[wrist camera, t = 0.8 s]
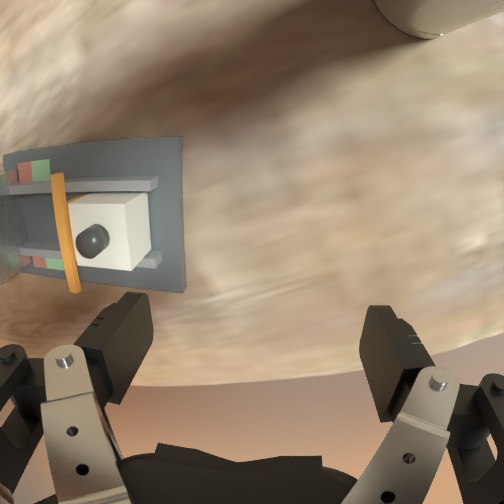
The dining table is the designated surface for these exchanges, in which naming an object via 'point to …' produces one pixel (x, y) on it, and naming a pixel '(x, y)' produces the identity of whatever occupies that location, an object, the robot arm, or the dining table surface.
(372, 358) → the robot arm
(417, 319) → the dining table surface
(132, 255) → the spring plunger
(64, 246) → the peak pointer
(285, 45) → the dining table surface
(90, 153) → the tester base
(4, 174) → the brushed metal plate
